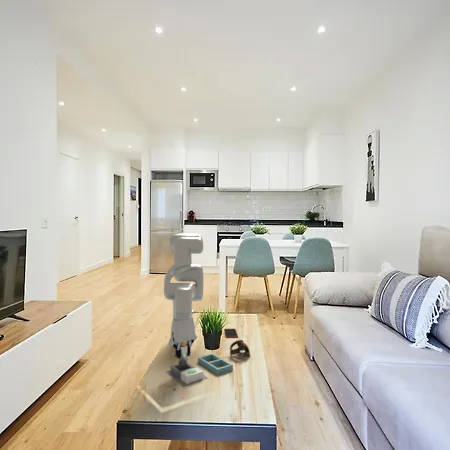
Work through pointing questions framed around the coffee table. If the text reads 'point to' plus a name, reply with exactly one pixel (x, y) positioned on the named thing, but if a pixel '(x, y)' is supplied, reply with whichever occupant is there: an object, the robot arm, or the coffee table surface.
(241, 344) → the brown arched frame
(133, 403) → the coffee table surface
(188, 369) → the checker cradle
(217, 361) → the teal rectangular open box
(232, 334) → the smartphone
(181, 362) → the test cell
